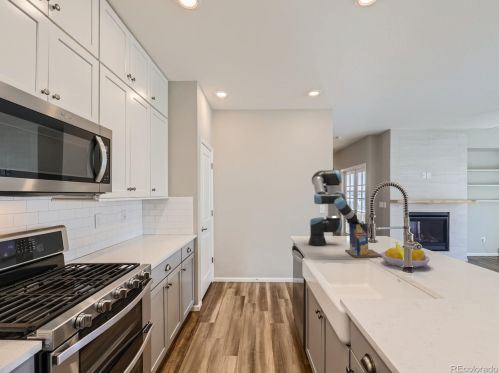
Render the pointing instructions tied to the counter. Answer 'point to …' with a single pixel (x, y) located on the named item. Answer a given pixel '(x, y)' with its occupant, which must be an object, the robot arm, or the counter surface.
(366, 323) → the counter surface
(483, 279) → the counter surface
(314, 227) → the robot arm
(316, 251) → the counter surface
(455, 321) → the counter surface
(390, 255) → the fruit bowl
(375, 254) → the walnut board
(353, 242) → the blue cardboard box
